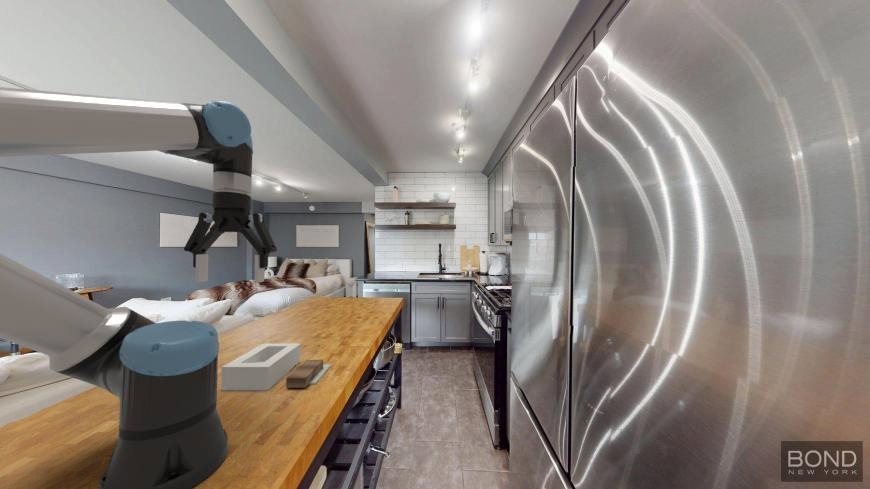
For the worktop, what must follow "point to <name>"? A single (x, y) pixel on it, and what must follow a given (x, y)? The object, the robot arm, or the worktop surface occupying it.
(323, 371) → the sage mat
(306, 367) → the walnut bar
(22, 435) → the worktop surface
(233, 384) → the pocket block
